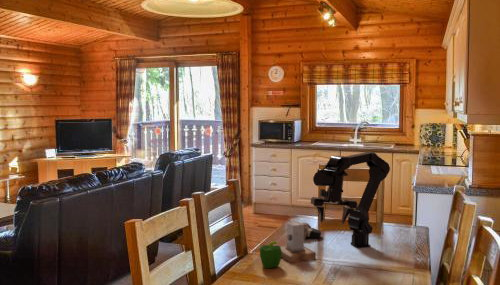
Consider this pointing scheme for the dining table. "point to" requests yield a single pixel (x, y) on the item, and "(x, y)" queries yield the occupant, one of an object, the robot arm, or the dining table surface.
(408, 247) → the dining table surface
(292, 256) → the stand
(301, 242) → the plate
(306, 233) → the grey brown rock
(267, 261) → the bell pepper
